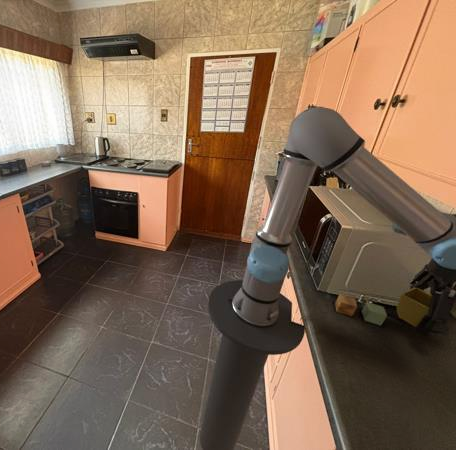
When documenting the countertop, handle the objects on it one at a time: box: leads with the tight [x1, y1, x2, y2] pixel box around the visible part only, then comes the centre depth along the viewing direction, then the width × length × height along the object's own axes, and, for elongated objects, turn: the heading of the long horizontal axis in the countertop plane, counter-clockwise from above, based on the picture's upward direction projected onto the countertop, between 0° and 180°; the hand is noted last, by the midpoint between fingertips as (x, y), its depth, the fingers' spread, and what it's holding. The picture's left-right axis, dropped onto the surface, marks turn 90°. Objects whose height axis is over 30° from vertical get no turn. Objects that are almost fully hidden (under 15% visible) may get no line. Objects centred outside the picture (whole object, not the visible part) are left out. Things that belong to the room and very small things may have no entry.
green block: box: [361, 301, 388, 326], centre depth 83 cm, size 4×4×4 cm
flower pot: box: [396, 288, 432, 328], centre depth 76 cm, size 9×9×9 cm
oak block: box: [334, 293, 358, 317], centre depth 86 cm, size 4×4×4 cm
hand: (412, 318), depth 78 cm, fingers closed on flower pot, 11 cm apart
